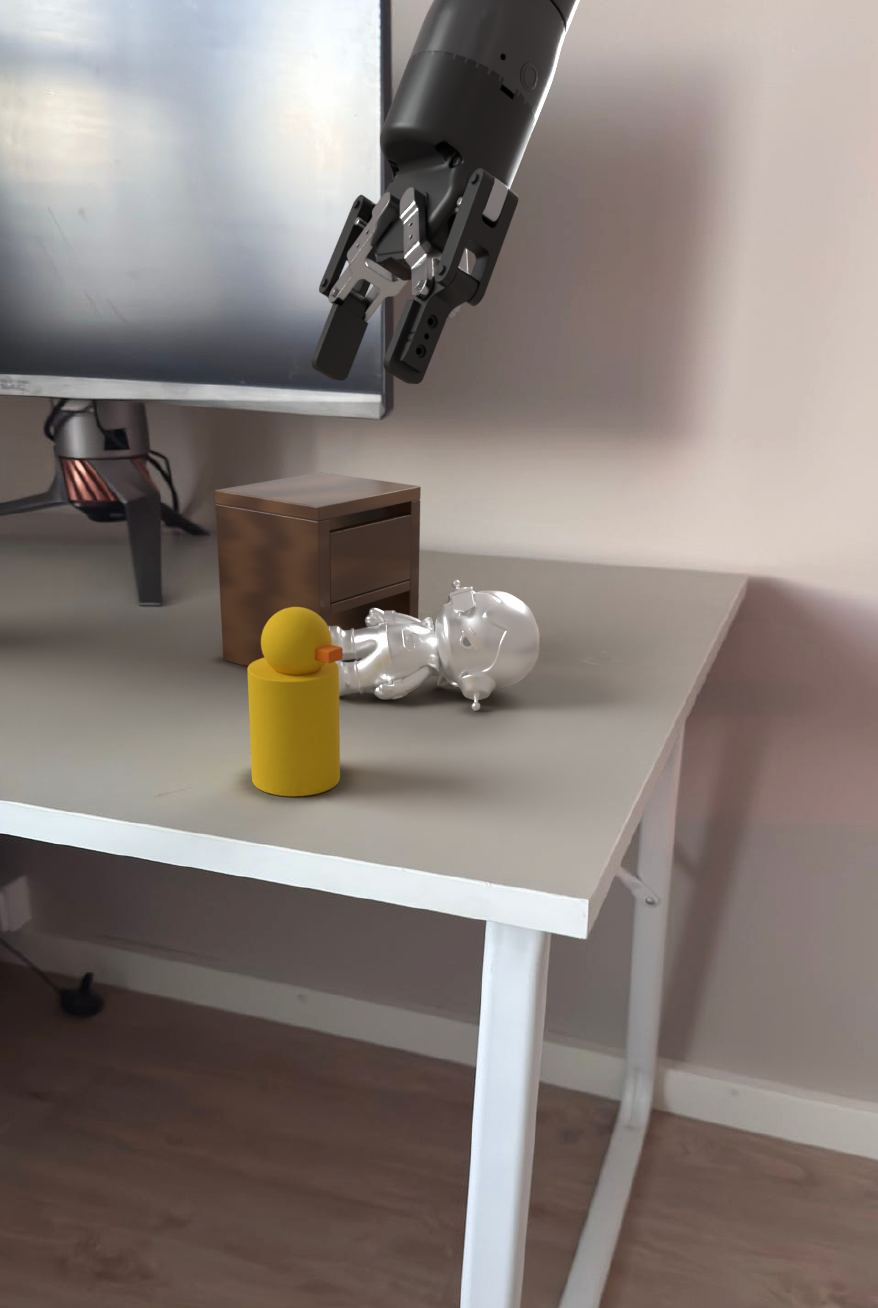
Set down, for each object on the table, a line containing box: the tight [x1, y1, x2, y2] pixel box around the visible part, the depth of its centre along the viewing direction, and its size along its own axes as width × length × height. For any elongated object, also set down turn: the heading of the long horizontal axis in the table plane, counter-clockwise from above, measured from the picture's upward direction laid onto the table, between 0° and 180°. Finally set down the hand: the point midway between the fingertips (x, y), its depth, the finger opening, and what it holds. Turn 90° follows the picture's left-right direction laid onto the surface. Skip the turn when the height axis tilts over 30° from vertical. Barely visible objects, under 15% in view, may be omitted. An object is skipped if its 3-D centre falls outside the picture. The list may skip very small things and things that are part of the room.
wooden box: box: [214, 471, 422, 667], centre depth 90 cm, size 10×12×13 cm
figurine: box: [328, 579, 541, 712], centre depth 84 cm, size 11×7×15 cm
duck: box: [246, 607, 343, 797], centre depth 68 cm, size 6×5×10 cm
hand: (361, 376), depth 65 cm, fingers open, 8 cm apart
